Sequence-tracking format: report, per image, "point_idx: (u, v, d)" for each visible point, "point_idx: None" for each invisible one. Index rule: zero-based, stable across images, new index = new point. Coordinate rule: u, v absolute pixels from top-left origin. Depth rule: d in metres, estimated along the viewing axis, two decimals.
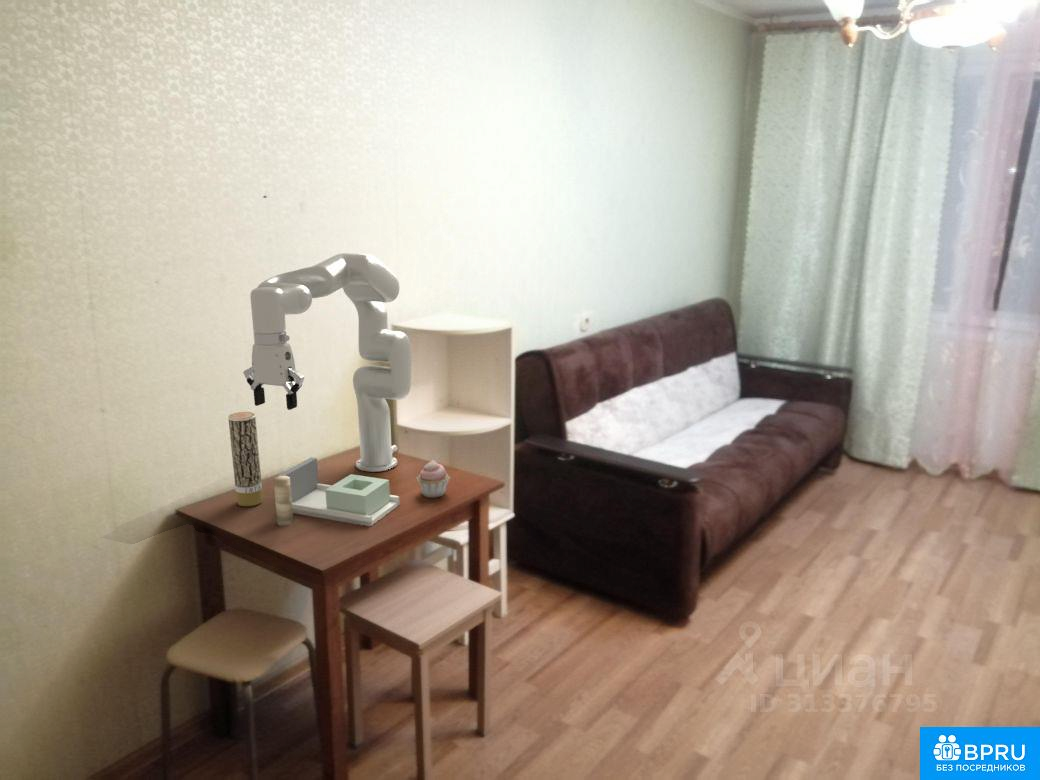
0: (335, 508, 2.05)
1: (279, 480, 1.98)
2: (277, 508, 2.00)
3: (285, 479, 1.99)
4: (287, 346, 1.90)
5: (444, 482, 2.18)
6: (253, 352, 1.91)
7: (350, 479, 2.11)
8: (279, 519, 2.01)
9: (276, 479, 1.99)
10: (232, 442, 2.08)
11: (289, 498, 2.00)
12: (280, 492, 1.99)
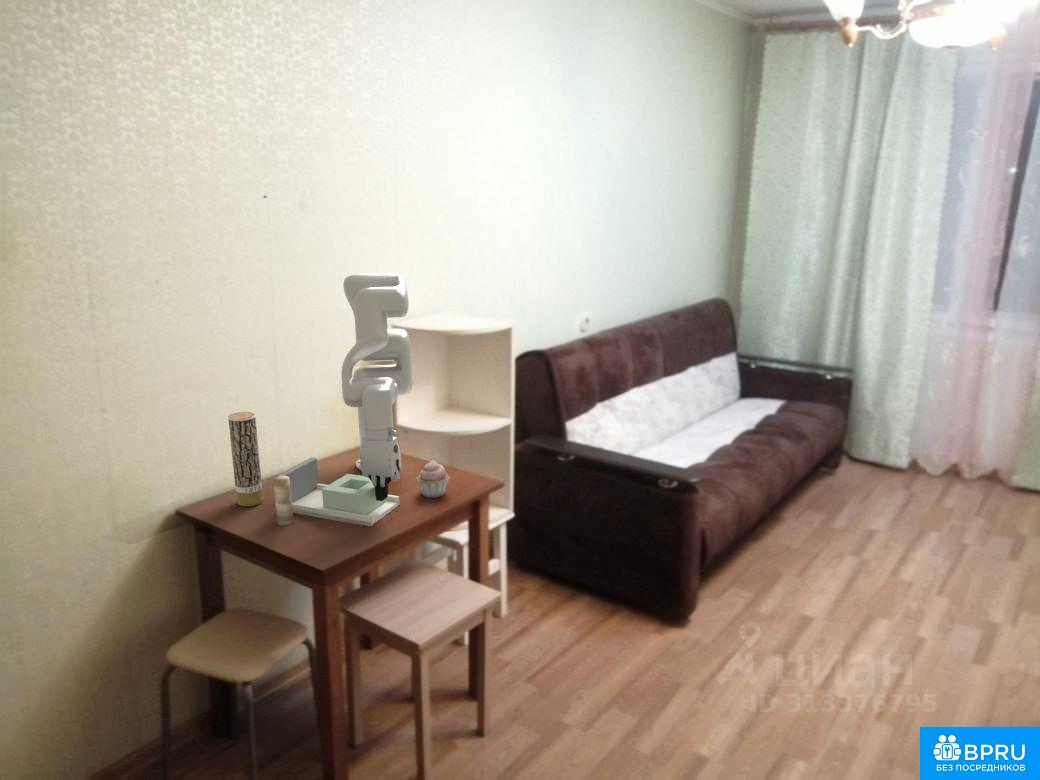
0: (332, 507, 2.05)
1: (278, 480, 1.98)
2: (277, 508, 2.00)
3: (285, 479, 1.99)
4: (395, 440, 2.01)
5: (444, 482, 2.18)
6: (362, 445, 2.01)
7: (347, 478, 2.12)
8: (279, 519, 2.01)
9: (276, 479, 1.99)
10: (232, 442, 2.08)
11: (289, 498, 2.00)
12: (280, 492, 1.99)
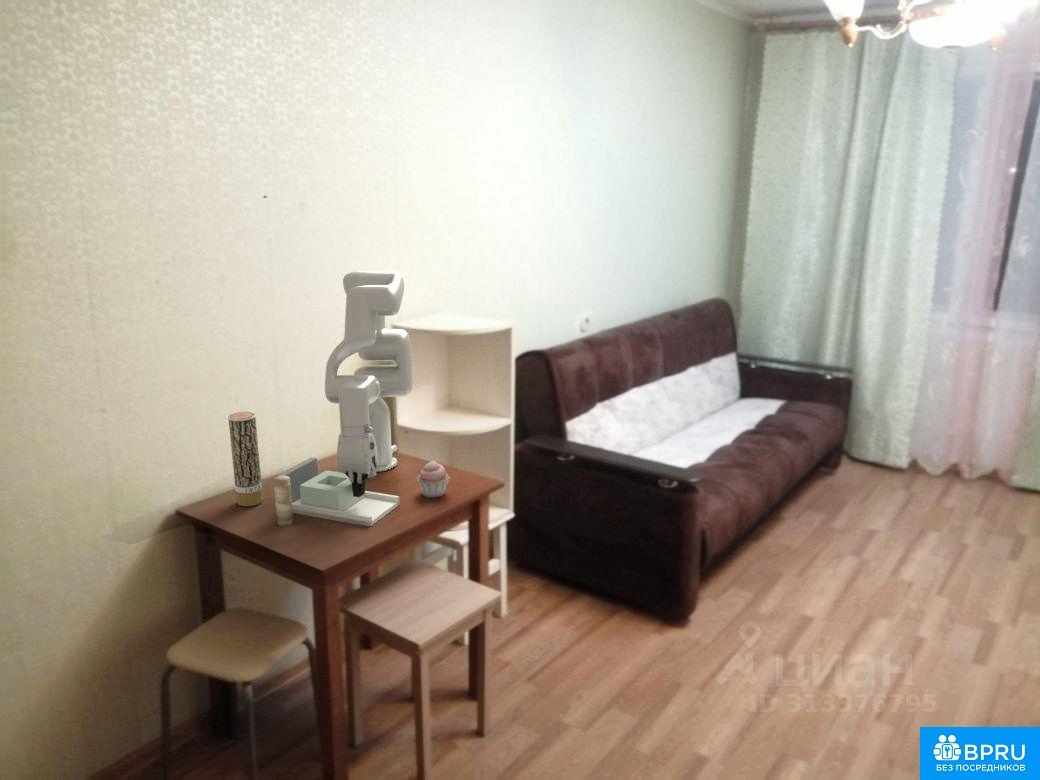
0: (309, 504, 2.08)
1: (279, 480, 1.98)
2: (277, 508, 2.00)
3: (285, 479, 1.99)
4: (371, 437, 2.03)
5: (444, 482, 2.18)
6: (339, 442, 2.04)
7: (325, 475, 2.14)
8: (279, 519, 2.01)
9: (276, 479, 1.99)
10: (232, 442, 2.08)
11: (289, 498, 2.00)
12: (280, 492, 1.99)
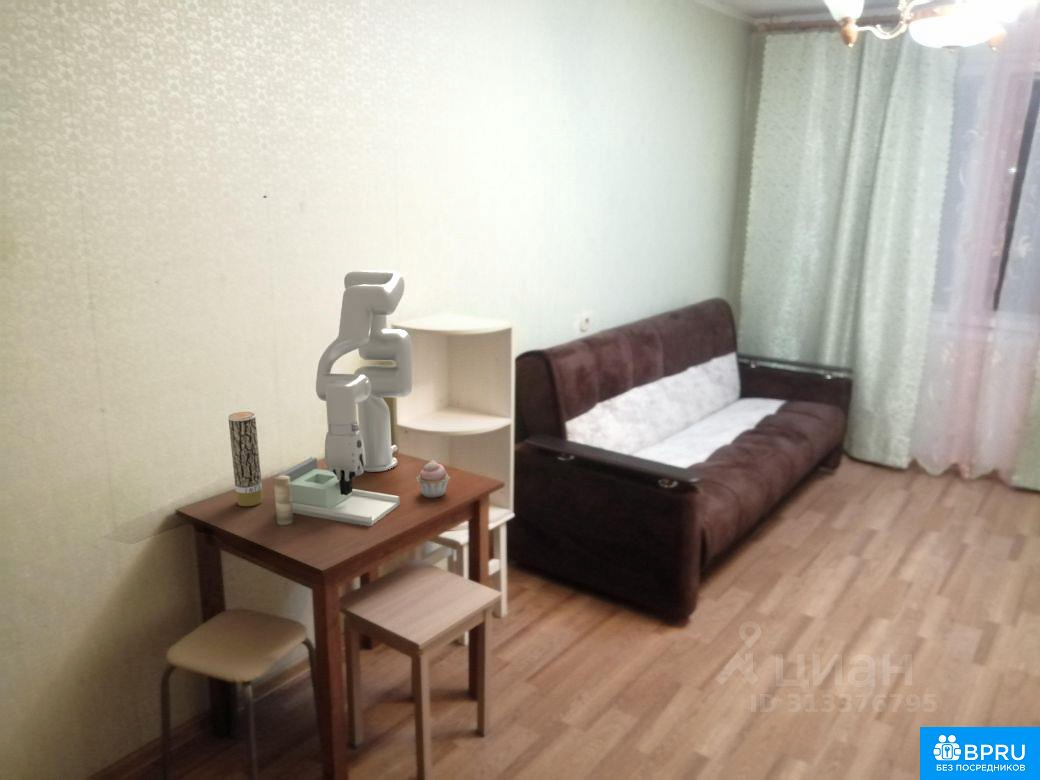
0: (297, 501, 2.09)
1: (279, 480, 1.99)
2: (277, 508, 2.00)
3: (285, 479, 1.99)
4: (358, 435, 2.04)
5: (444, 482, 2.18)
6: (326, 440, 2.05)
7: (313, 473, 2.16)
8: (279, 519, 2.01)
9: (276, 479, 1.99)
10: (232, 442, 2.08)
11: (289, 498, 2.00)
12: (280, 492, 1.99)
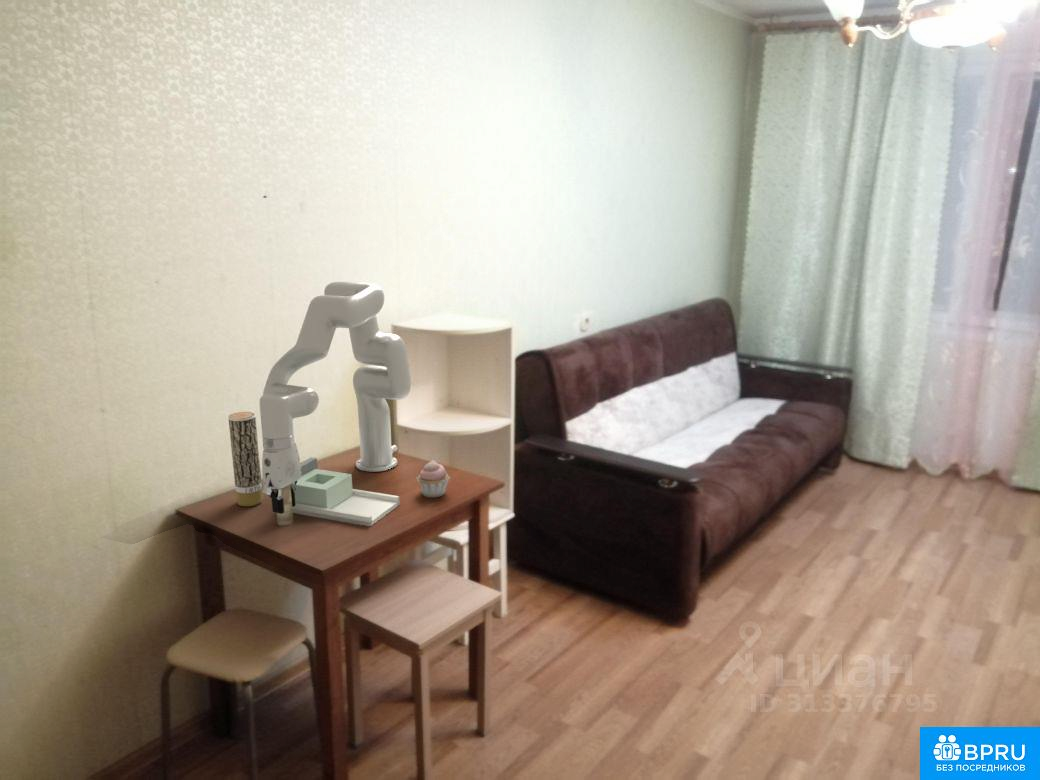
0: (297, 502, 2.09)
1: None
2: None
3: None
4: (269, 453, 1.93)
5: (444, 482, 2.18)
6: None
7: (313, 473, 2.16)
8: (279, 519, 2.01)
9: None
10: (232, 442, 2.08)
11: (288, 498, 2.00)
12: None
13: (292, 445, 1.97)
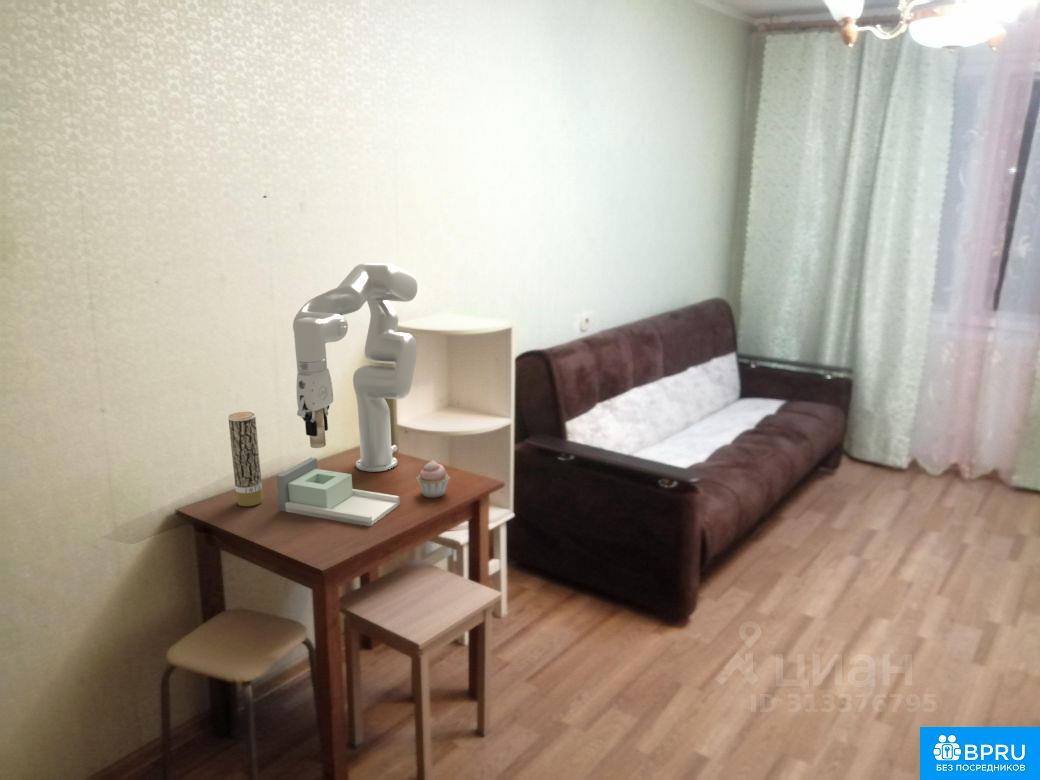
0: (297, 502, 2.09)
1: None
2: None
3: None
4: (303, 376, 2.00)
5: (444, 482, 2.18)
6: None
7: (313, 473, 2.16)
8: (312, 442, 2.07)
9: None
10: (232, 442, 2.08)
11: (321, 422, 2.06)
12: None
13: (325, 369, 2.03)
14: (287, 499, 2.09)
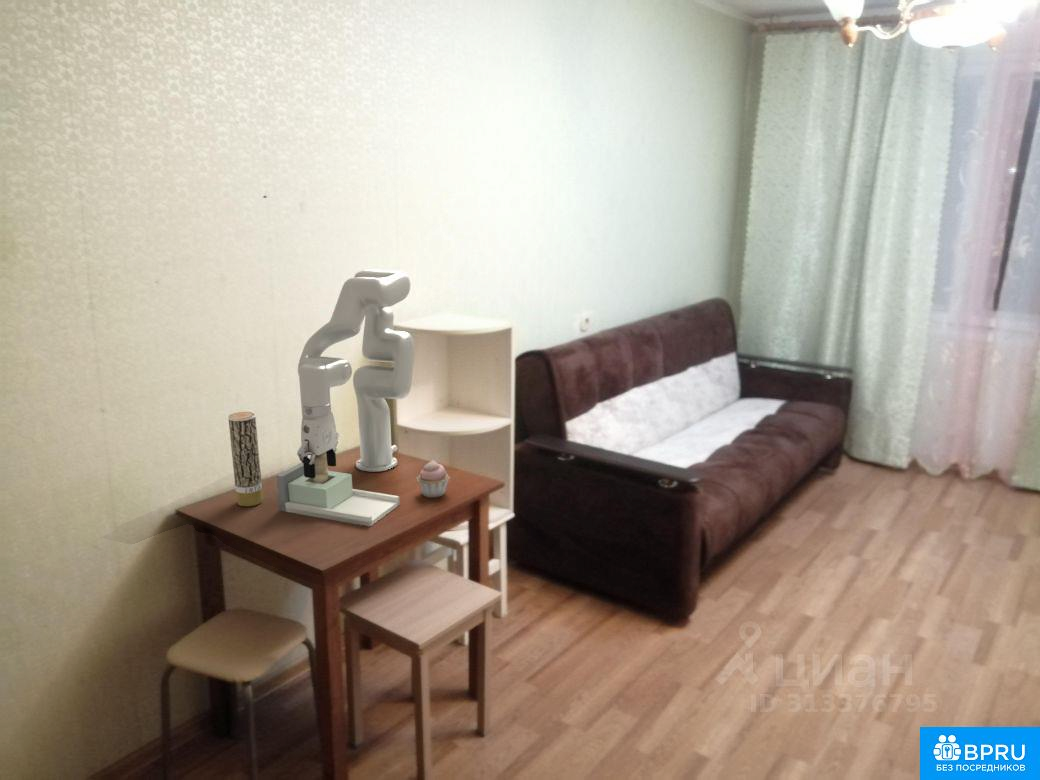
0: (297, 502, 2.09)
1: None
2: (314, 479, 2.10)
3: None
4: (308, 421, 2.03)
5: (444, 482, 2.18)
6: None
7: None
8: None
9: None
10: (232, 442, 2.08)
11: (325, 469, 2.10)
12: (317, 463, 2.09)
13: (329, 413, 2.06)
14: (287, 499, 2.09)
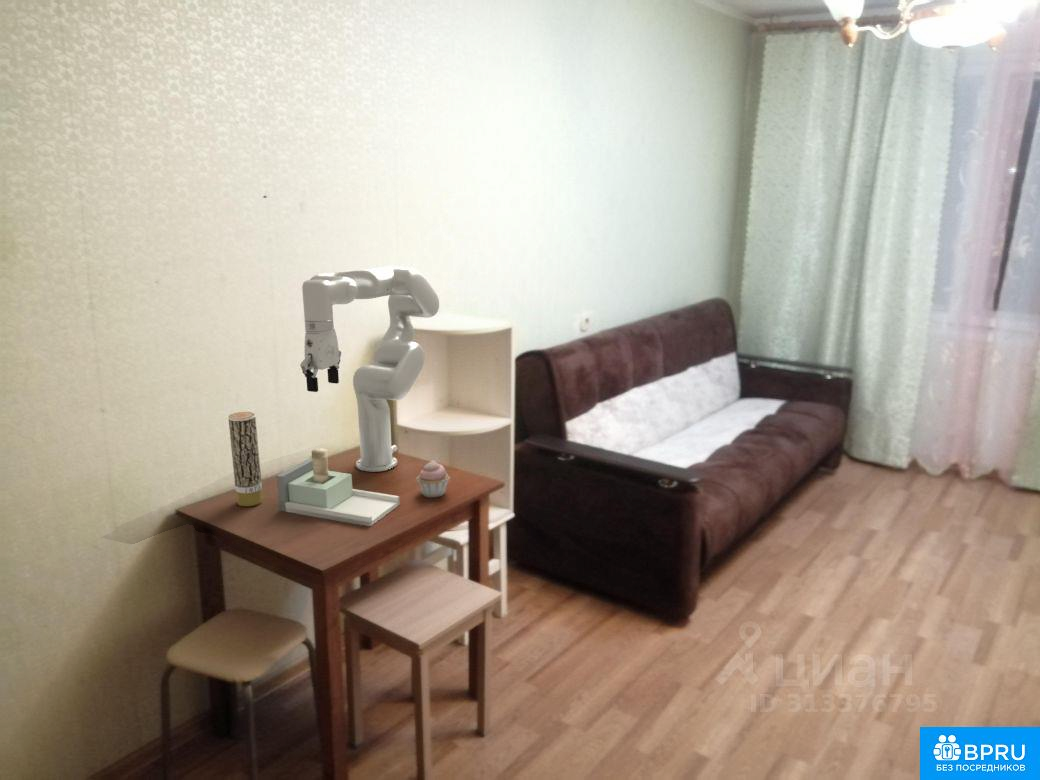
0: (297, 502, 2.09)
1: (316, 452, 2.08)
2: (314, 479, 2.10)
3: (322, 451, 2.09)
4: (311, 335, 2.08)
5: (444, 482, 2.18)
6: None
7: None
8: None
9: (314, 451, 2.09)
10: (232, 442, 2.08)
11: (326, 470, 2.10)
12: (318, 464, 2.08)
13: (332, 329, 2.12)
14: (287, 499, 2.09)
